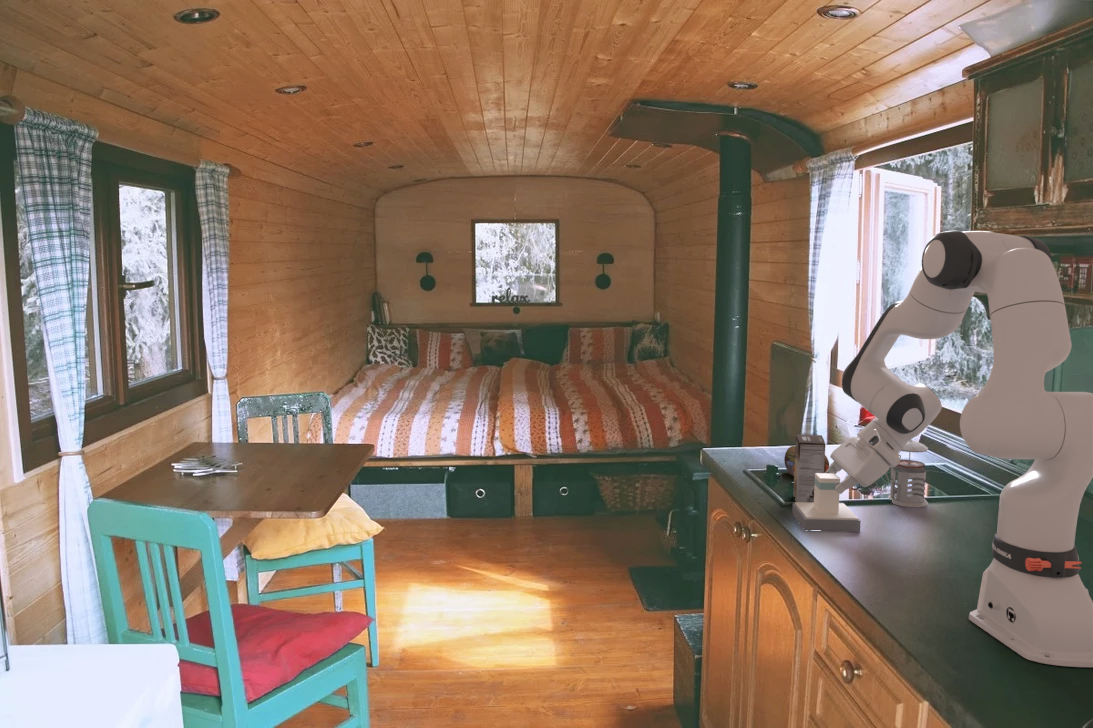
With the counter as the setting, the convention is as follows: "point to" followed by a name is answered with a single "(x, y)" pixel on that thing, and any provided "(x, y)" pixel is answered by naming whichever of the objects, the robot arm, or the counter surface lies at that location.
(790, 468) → the tin
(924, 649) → the counter surface
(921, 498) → the french press
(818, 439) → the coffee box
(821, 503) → the carton
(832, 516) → the podium
